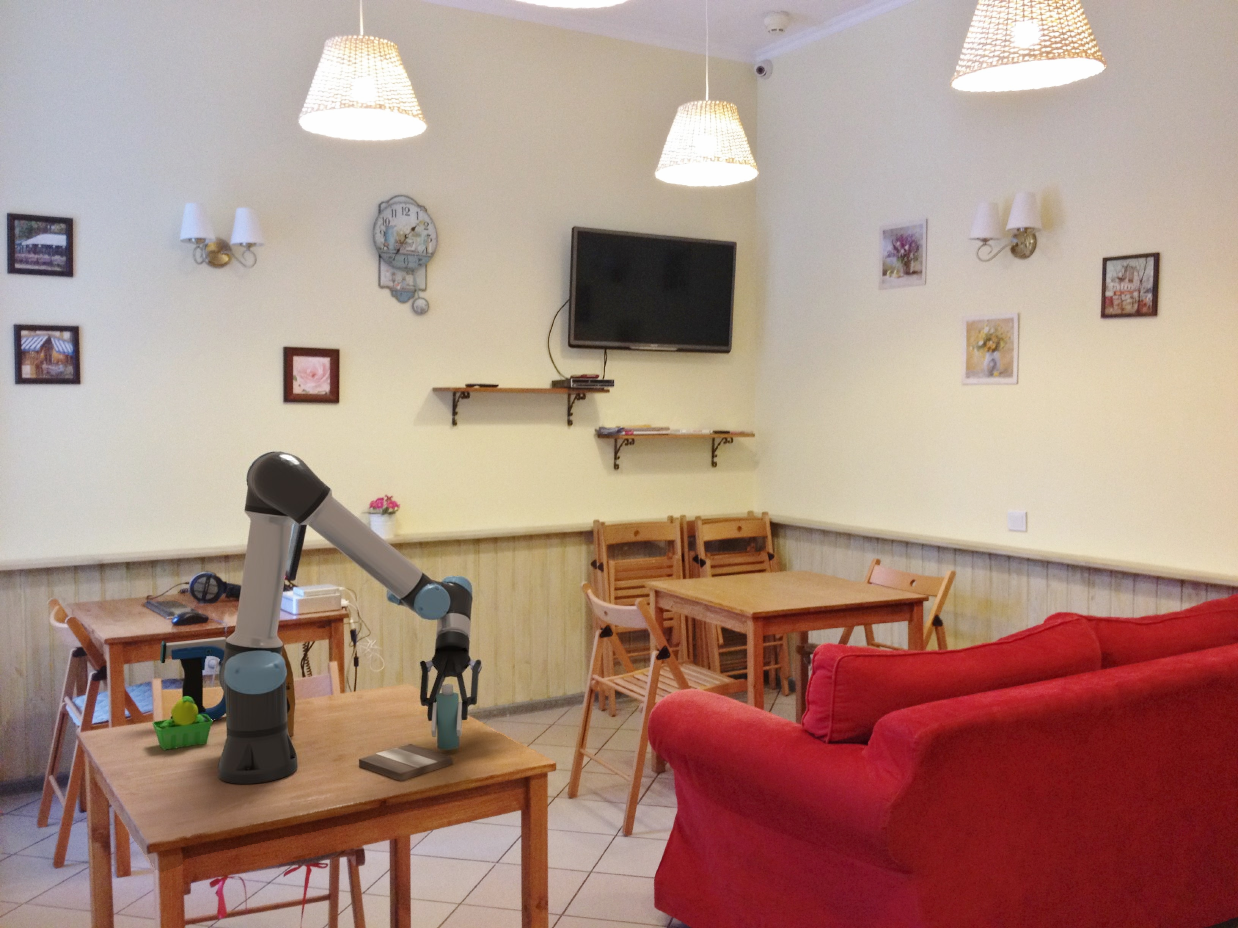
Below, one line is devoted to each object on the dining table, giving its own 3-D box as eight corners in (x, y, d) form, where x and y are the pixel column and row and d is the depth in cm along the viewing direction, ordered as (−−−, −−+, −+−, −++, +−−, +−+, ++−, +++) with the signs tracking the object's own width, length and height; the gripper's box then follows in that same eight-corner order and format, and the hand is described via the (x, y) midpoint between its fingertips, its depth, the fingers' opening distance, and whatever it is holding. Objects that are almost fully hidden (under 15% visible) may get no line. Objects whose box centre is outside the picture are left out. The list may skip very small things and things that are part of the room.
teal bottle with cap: (446, 750, 221) (445, 689, 220) (432, 746, 224) (431, 685, 223) (463, 745, 224) (462, 685, 224) (449, 741, 227) (448, 681, 227)
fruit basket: (206, 735, 240) (205, 685, 239) (215, 745, 232) (213, 694, 232) (152, 744, 233) (150, 693, 233) (159, 754, 226) (158, 702, 225)
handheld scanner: (162, 722, 250) (159, 640, 249) (234, 713, 257) (231, 634, 255) (162, 728, 246) (159, 644, 245) (235, 718, 253) (233, 637, 251)
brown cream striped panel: (400, 780, 207) (400, 772, 207) (359, 766, 216) (358, 758, 216) (452, 764, 216) (452, 756, 216) (410, 750, 226) (410, 743, 226)
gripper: (493, 647, 240) (489, 740, 224) (414, 648, 239) (405, 743, 223) (491, 628, 234) (487, 723, 218) (411, 630, 233) (401, 725, 217)
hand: (446, 732), depth 220 cm, fingers closed on teal bottle with cap, 4 cm apart
